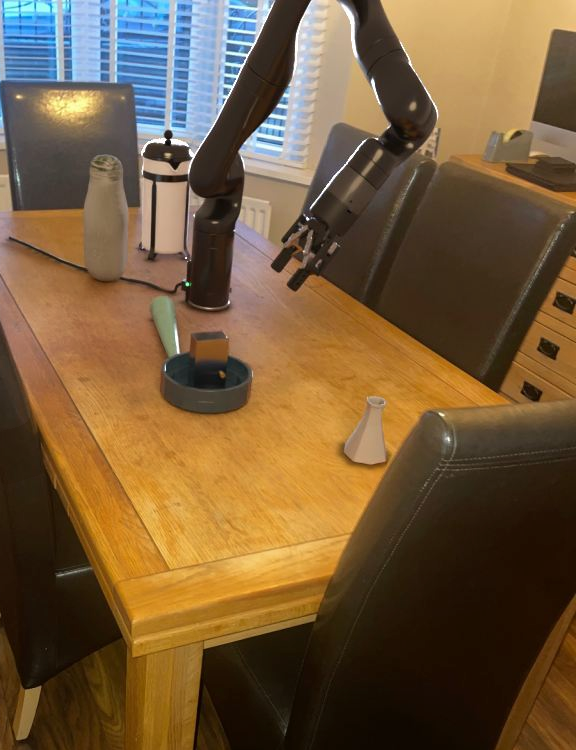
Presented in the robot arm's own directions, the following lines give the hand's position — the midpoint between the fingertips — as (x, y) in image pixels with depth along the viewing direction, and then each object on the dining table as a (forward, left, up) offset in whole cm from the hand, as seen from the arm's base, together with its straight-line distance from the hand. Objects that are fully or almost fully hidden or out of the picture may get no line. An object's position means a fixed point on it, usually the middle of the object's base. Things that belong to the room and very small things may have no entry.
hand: (282, 279), depth 139 cm
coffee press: (-62, +44, -20) cm, 79 cm away
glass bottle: (-58, +18, -20) cm, 64 cm away
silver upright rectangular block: (-5, -13, -19) cm, 24 cm away
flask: (+27, -12, -20) cm, 35 cm away
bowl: (-5, -13, -20) cm, 25 cm away
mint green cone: (-24, -1, -20) cm, 31 cm away
